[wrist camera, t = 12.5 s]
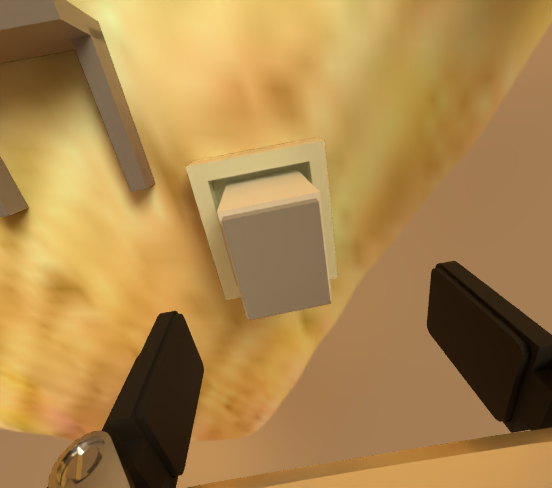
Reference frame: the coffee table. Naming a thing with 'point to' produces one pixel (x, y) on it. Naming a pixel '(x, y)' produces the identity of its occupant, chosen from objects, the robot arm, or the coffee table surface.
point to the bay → (97, 68)
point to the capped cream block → (276, 243)
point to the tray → (219, 170)
